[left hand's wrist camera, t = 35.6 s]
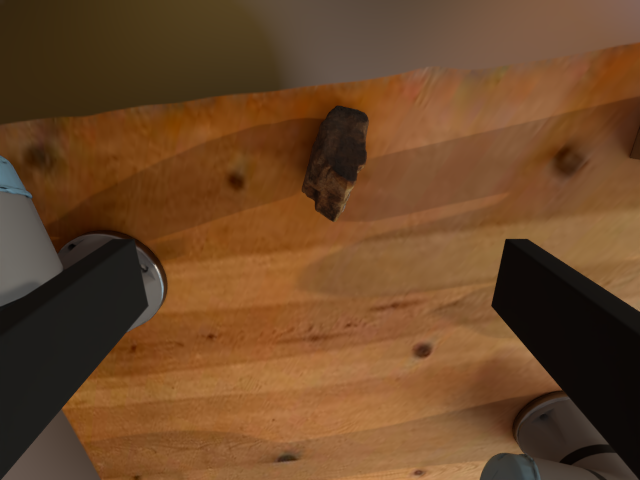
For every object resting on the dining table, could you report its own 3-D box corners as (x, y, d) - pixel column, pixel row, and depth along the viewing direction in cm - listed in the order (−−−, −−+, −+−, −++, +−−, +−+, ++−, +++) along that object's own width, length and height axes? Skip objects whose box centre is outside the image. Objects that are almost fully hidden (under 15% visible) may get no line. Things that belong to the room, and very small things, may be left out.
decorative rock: (337, 204, 46) (341, 232, 36) (295, 188, 46) (288, 211, 36) (375, 117, 42) (392, 122, 32) (330, 98, 42) (333, 96, 32)
